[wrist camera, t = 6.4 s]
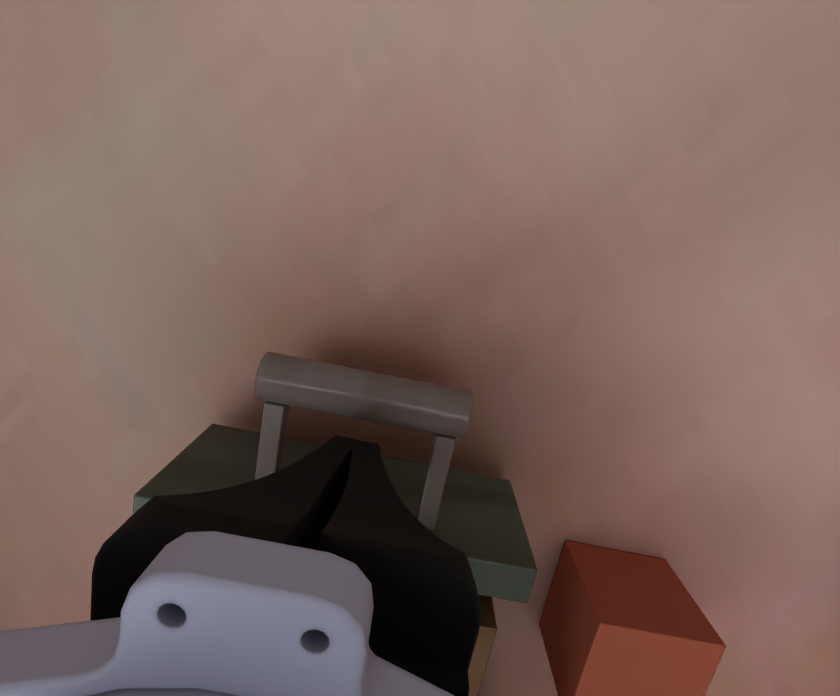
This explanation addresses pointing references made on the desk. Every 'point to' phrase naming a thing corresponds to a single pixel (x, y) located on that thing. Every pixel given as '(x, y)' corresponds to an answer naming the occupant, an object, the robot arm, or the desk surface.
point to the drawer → (414, 482)
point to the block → (625, 627)
